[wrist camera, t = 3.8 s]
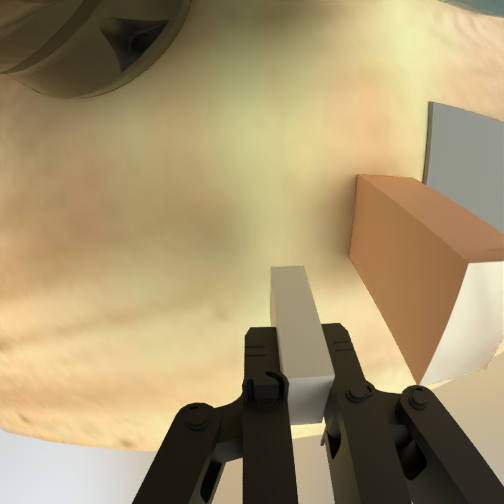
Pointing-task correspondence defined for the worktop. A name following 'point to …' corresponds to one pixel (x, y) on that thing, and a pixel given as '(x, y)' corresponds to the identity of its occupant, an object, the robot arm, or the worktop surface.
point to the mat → (467, 161)
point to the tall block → (430, 275)
